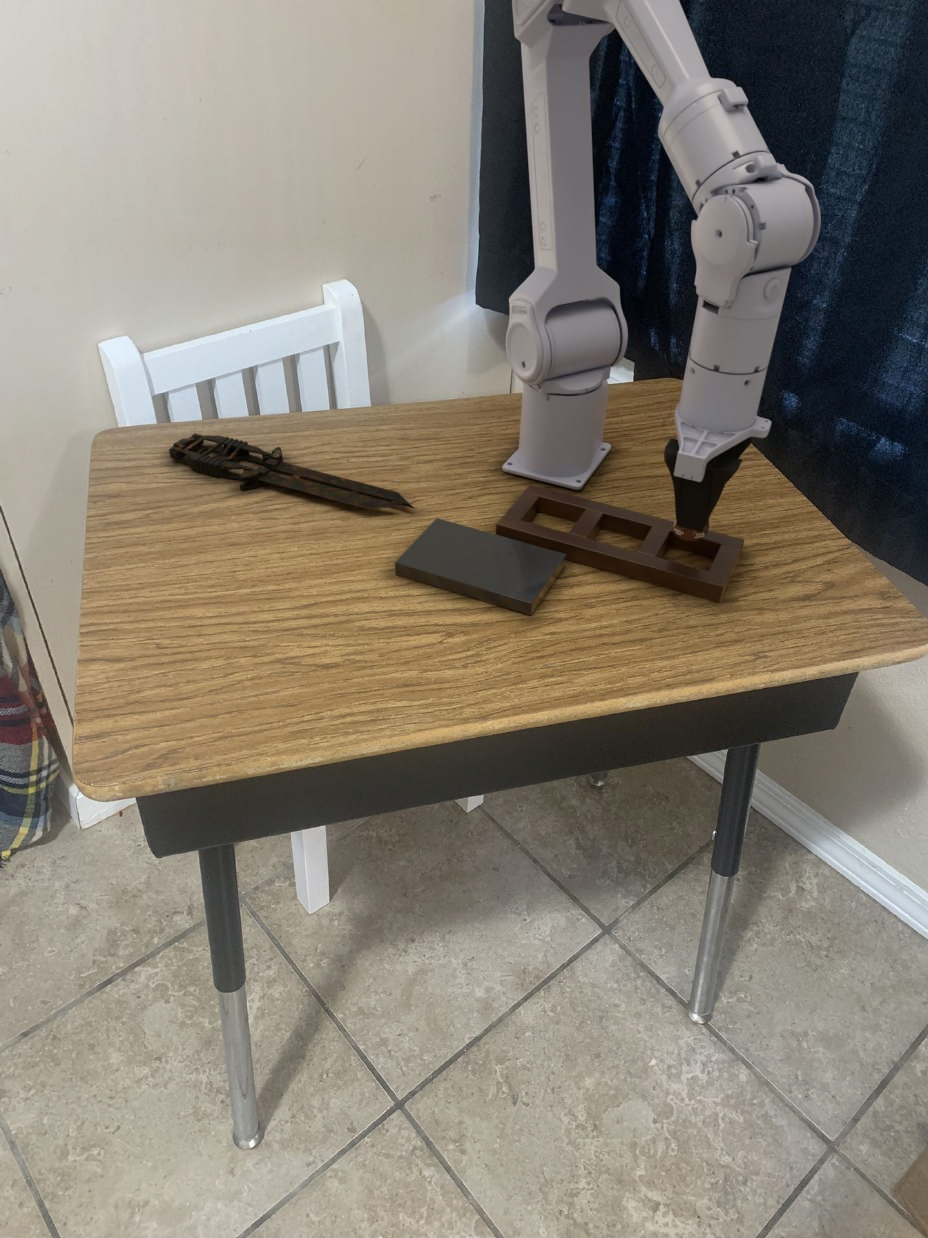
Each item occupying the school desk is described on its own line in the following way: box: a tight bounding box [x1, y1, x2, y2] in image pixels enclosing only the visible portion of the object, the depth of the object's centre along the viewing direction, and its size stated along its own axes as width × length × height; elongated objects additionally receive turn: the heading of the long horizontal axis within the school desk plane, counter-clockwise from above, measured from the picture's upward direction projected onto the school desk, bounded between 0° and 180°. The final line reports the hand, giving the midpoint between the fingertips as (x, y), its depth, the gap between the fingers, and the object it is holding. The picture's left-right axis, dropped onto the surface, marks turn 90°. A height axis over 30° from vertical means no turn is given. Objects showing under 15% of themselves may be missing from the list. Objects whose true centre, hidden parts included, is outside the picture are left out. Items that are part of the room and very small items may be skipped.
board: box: [394, 517, 567, 616], centre depth 80 cm, size 8×12×1 cm, turn 65°
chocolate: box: [673, 518, 712, 542], centre depth 79 cm, size 3×2×4 cm
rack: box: [495, 484, 745, 603], centre depth 83 cm, size 8×20×2 cm, turn 65°
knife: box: [168, 433, 416, 510], centre depth 90 cm, size 25×6×1 cm, turn 60°
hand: (695, 517), depth 79 cm, fingers closed on chocolate, 2 cm apart
